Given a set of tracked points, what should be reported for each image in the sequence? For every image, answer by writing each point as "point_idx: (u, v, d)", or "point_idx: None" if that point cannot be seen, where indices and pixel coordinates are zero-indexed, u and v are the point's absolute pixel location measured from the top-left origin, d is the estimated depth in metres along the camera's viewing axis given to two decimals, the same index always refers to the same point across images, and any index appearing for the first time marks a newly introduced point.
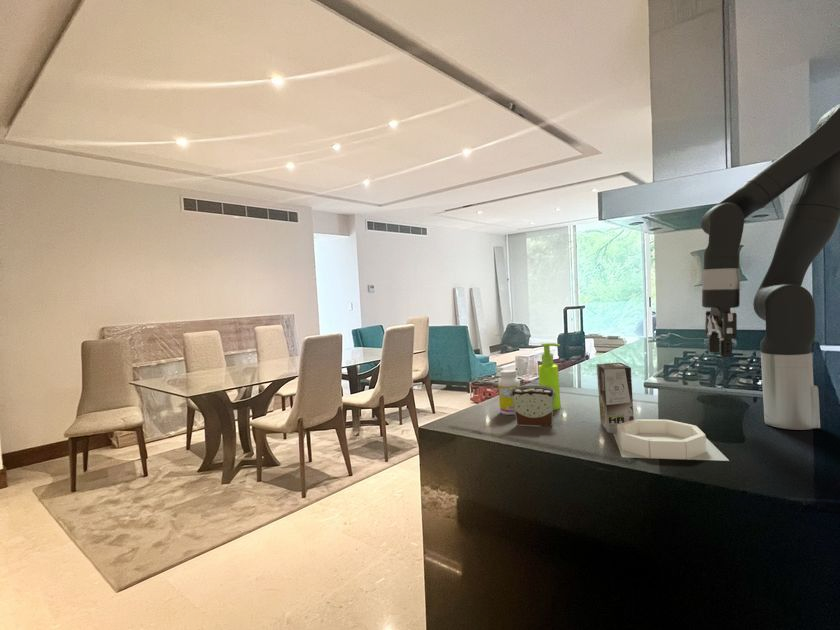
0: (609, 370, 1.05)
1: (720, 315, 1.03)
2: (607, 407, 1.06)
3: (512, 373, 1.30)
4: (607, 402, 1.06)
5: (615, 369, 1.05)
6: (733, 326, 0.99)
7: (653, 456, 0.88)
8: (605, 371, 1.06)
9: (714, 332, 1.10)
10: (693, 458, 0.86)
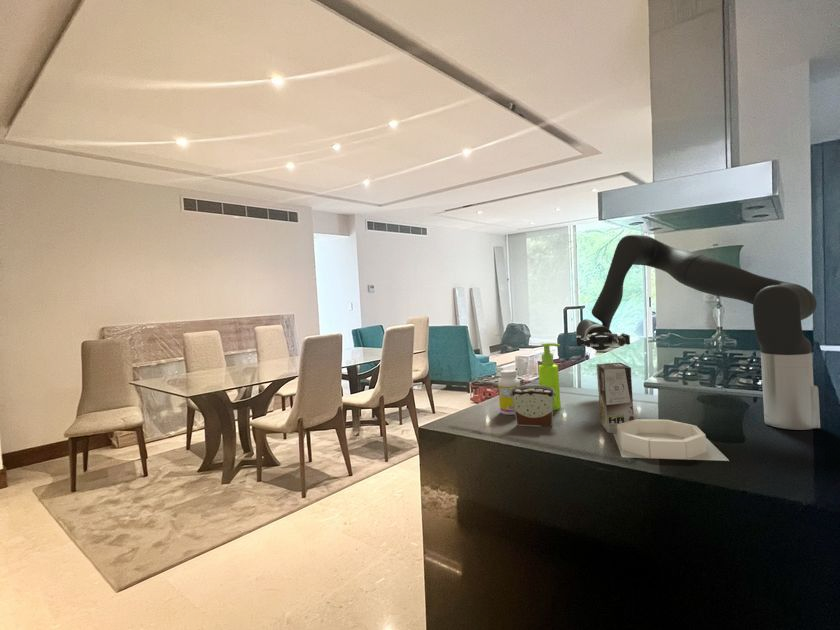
0: (609, 370, 1.05)
1: None
2: (607, 407, 1.06)
3: (512, 373, 1.30)
4: (607, 402, 1.06)
5: (615, 369, 1.05)
6: (576, 338, 1.29)
7: (653, 456, 0.88)
8: (605, 371, 1.06)
9: None
10: (693, 458, 0.86)
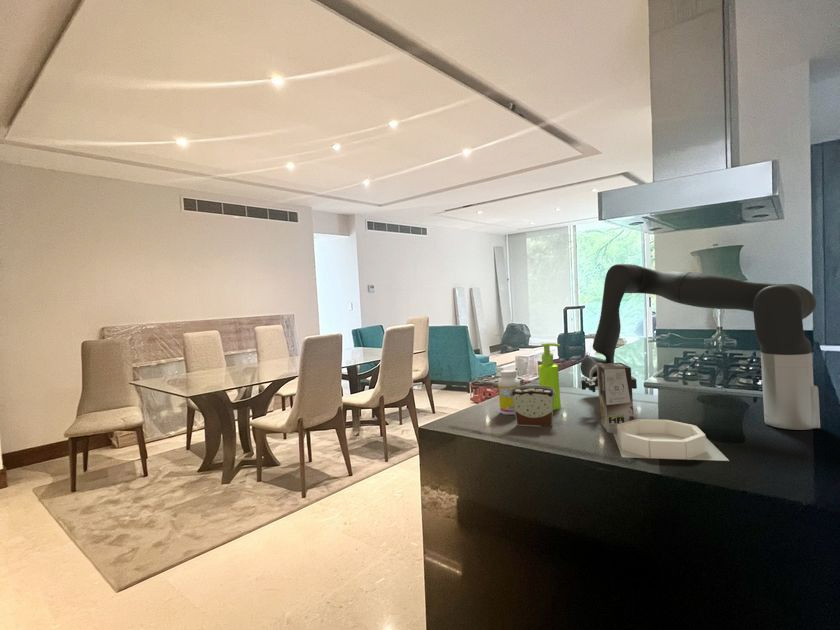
0: (609, 370, 1.05)
1: None
2: (607, 407, 1.06)
3: (512, 373, 1.30)
4: (607, 402, 1.06)
5: (615, 369, 1.05)
6: None
7: (653, 456, 0.88)
8: (605, 371, 1.06)
9: None
10: (693, 458, 0.86)
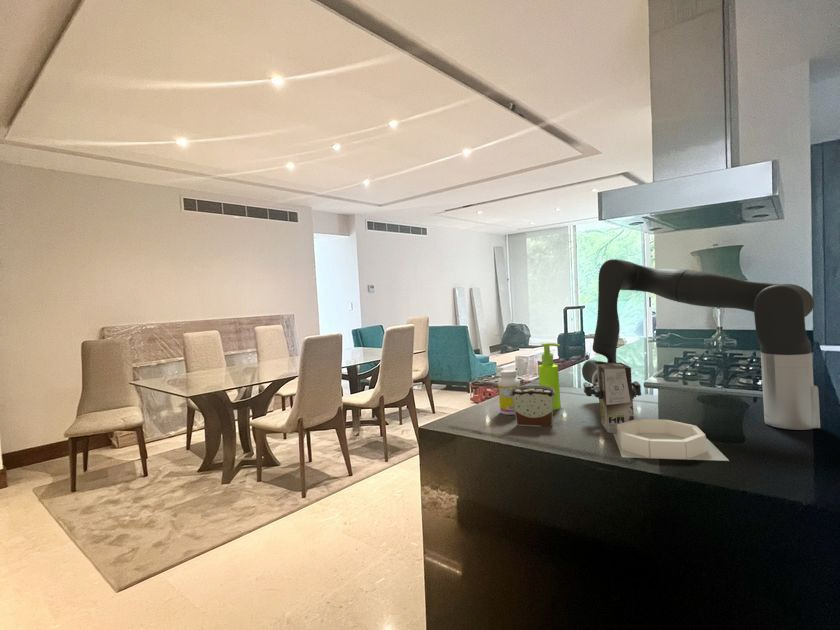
0: (609, 370, 1.05)
1: None
2: (607, 407, 1.06)
3: (512, 373, 1.30)
4: (607, 402, 1.06)
5: (615, 369, 1.05)
6: (585, 387, 1.16)
7: (653, 456, 0.88)
8: (605, 371, 1.06)
9: None
10: (693, 458, 0.86)
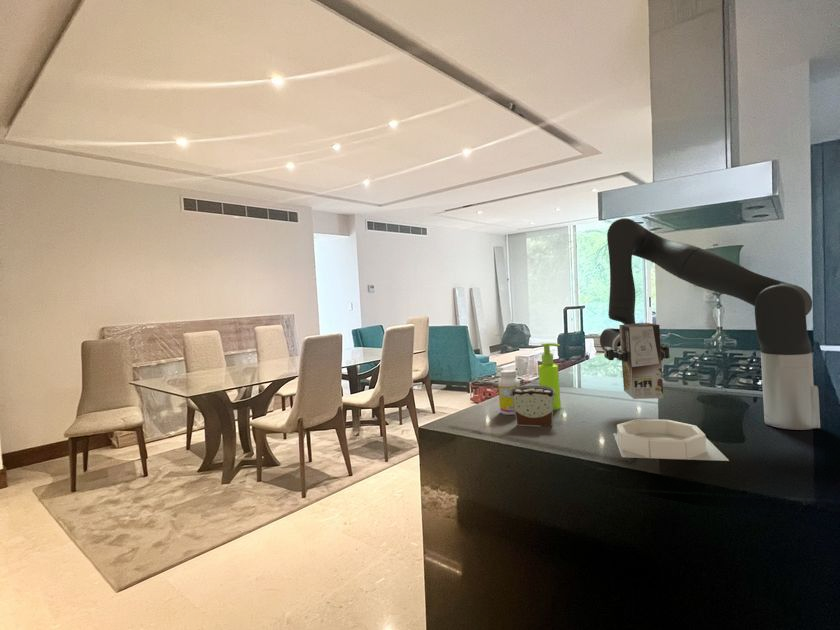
0: (635, 328, 0.95)
1: None
2: (632, 369, 0.95)
3: (512, 373, 1.30)
4: (632, 364, 0.95)
5: (642, 327, 0.94)
6: (606, 351, 1.05)
7: (653, 456, 0.88)
8: (630, 329, 0.95)
9: None
10: (693, 458, 0.86)
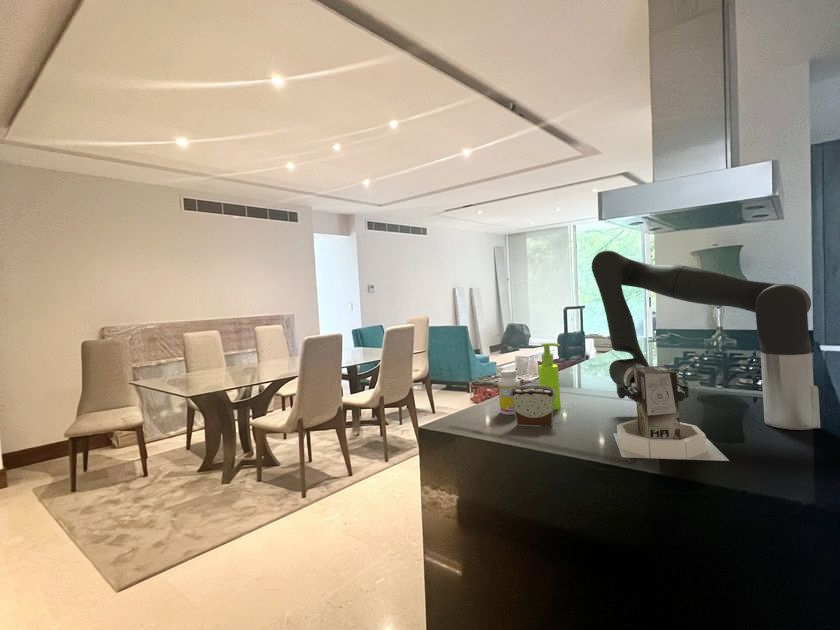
0: (651, 375, 0.91)
1: None
2: (648, 418, 0.91)
3: (512, 373, 1.30)
4: (648, 412, 0.91)
5: (658, 374, 0.90)
6: (617, 387, 1.02)
7: (653, 456, 0.88)
8: (646, 376, 0.91)
9: None
10: (693, 458, 0.86)
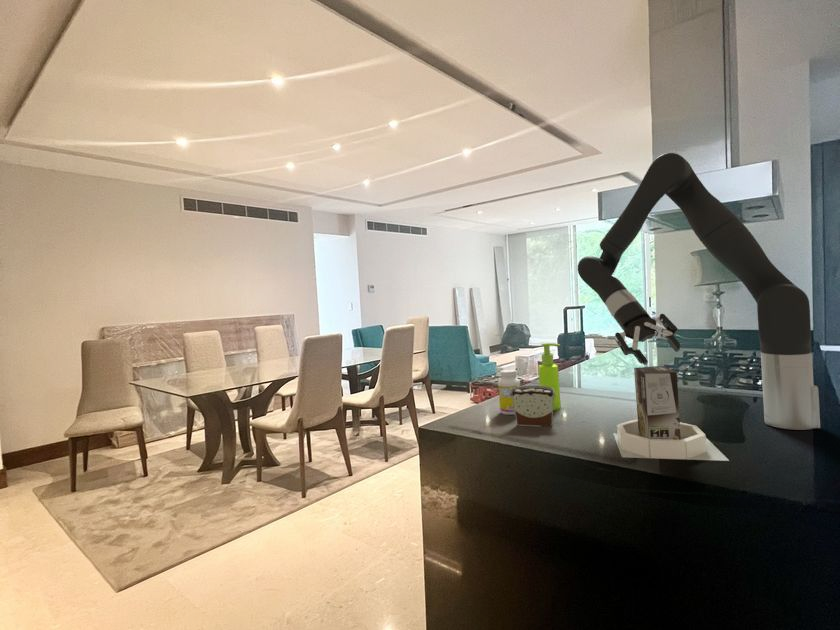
0: (651, 375, 0.91)
1: None
2: (648, 418, 0.91)
3: (512, 373, 1.30)
4: (648, 412, 0.91)
5: (658, 374, 0.90)
6: (620, 343, 1.15)
7: (653, 456, 0.88)
8: (646, 376, 0.91)
9: None
10: (693, 458, 0.86)
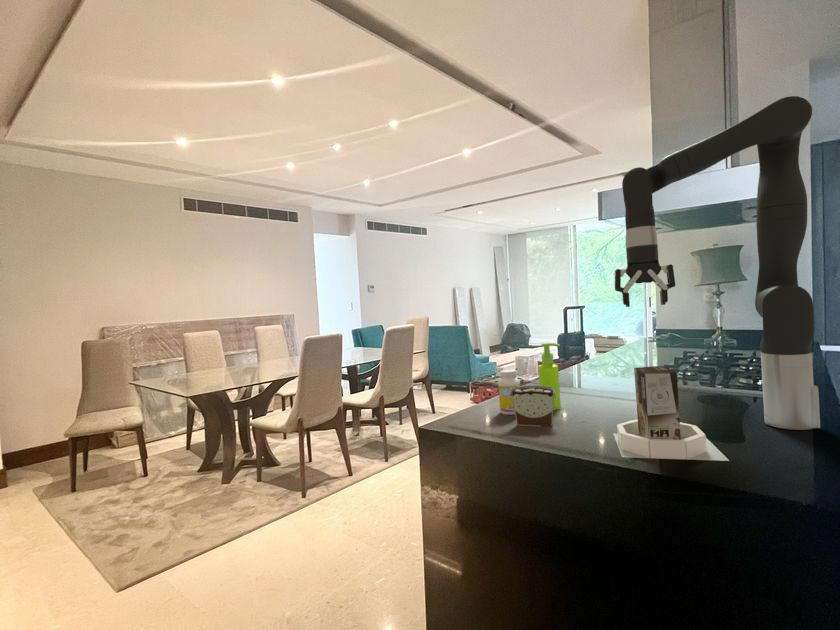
0: (651, 375, 0.91)
1: None
2: (648, 418, 0.91)
3: (512, 373, 1.30)
4: (648, 412, 0.91)
5: (658, 374, 0.90)
6: (615, 280, 1.18)
7: (653, 456, 0.88)
8: (646, 376, 0.91)
9: None
10: (693, 458, 0.86)
